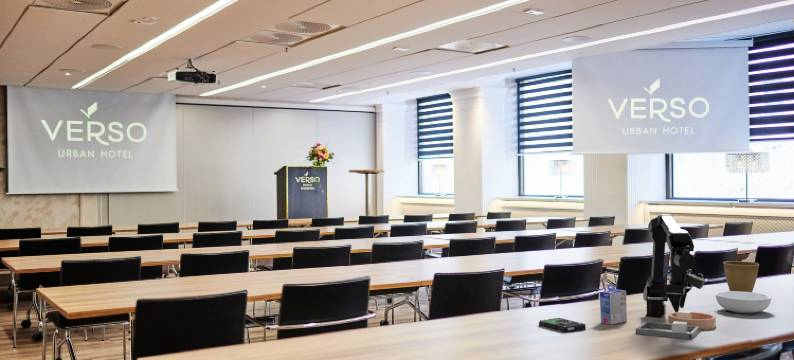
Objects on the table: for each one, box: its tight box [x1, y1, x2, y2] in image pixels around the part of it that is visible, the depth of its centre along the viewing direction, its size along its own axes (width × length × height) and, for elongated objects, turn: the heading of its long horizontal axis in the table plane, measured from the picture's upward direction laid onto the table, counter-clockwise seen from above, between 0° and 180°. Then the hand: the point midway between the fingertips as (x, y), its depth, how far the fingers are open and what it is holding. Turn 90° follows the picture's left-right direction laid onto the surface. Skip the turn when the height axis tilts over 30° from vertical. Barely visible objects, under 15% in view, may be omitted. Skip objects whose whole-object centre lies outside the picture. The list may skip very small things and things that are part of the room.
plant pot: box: [722, 260, 760, 292], centre depth 334 cm, size 15×15×16 cm
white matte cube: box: [677, 309, 692, 319], centre depth 276 cm, size 4×4×4 cm
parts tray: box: [635, 321, 701, 340], centre depth 261 cm, size 19×15×2 cm
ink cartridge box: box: [599, 283, 628, 325], centre depth 281 cm, size 10×6×14 cm, turn 124°
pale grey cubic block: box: [671, 321, 688, 333], centre depth 259 cm, size 4×4×4 cm
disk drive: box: [538, 317, 587, 334], centre depth 272 cm, size 10×3×15 cm
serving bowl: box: [715, 290, 772, 315], centre depth 300 cm, size 21×21×7 cm
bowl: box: [667, 311, 717, 330], centre depth 274 cm, size 16×16×4 cm
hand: (679, 309), depth 259 cm, fingers open, 9 cm apart
